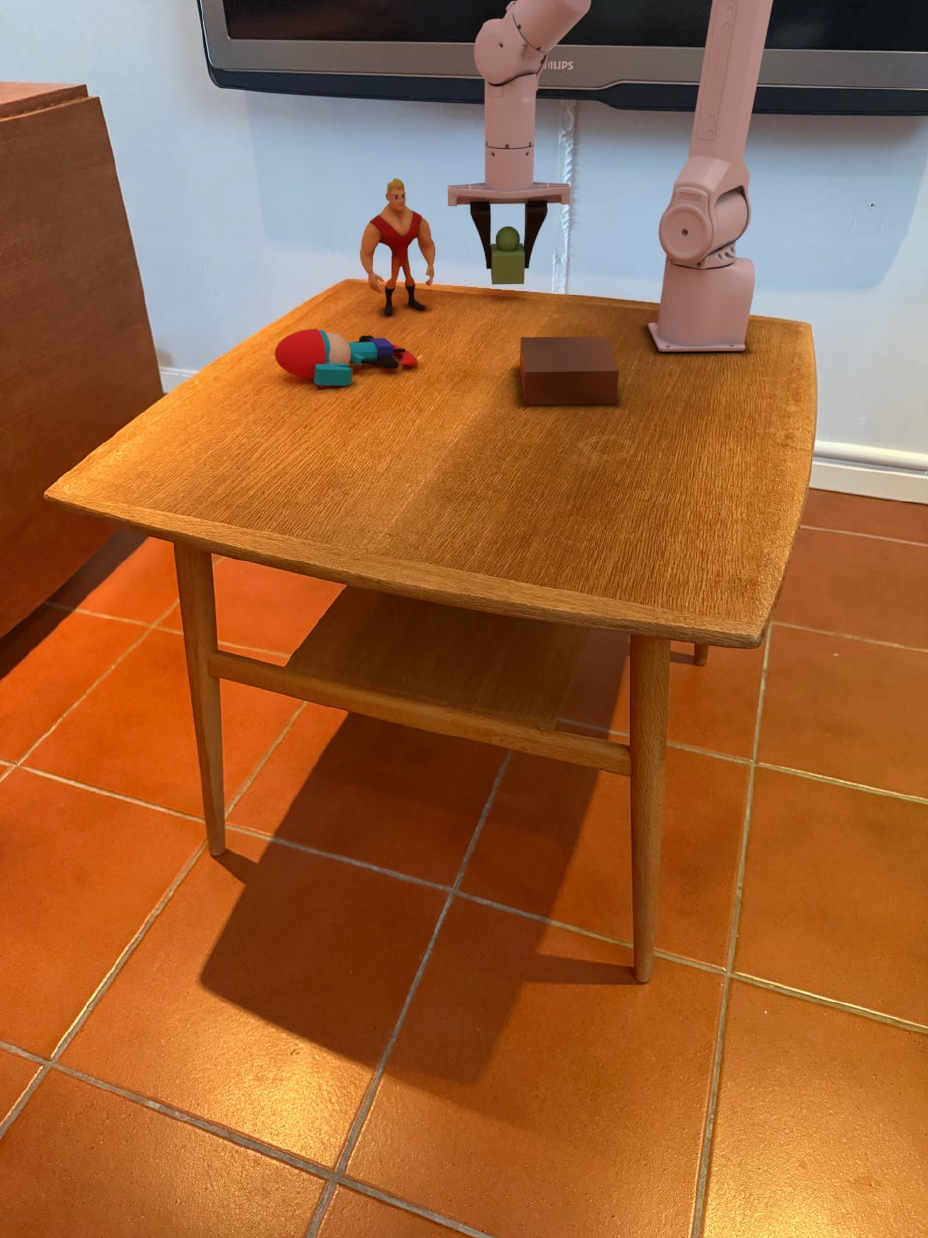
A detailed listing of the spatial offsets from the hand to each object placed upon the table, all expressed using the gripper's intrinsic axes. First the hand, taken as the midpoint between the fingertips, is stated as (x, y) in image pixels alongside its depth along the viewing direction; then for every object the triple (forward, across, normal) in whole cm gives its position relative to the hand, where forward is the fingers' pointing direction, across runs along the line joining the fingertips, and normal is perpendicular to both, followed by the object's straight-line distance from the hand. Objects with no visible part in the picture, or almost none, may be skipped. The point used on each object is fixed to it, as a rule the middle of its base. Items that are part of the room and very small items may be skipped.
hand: (507, 266), depth 110 cm
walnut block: (+4, -5, +28) cm, 29 cm away
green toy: (+1, 0, 0) cm, 1 cm away
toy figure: (+4, +18, +24) cm, 30 cm away
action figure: (+4, +13, +4) cm, 14 cm away
